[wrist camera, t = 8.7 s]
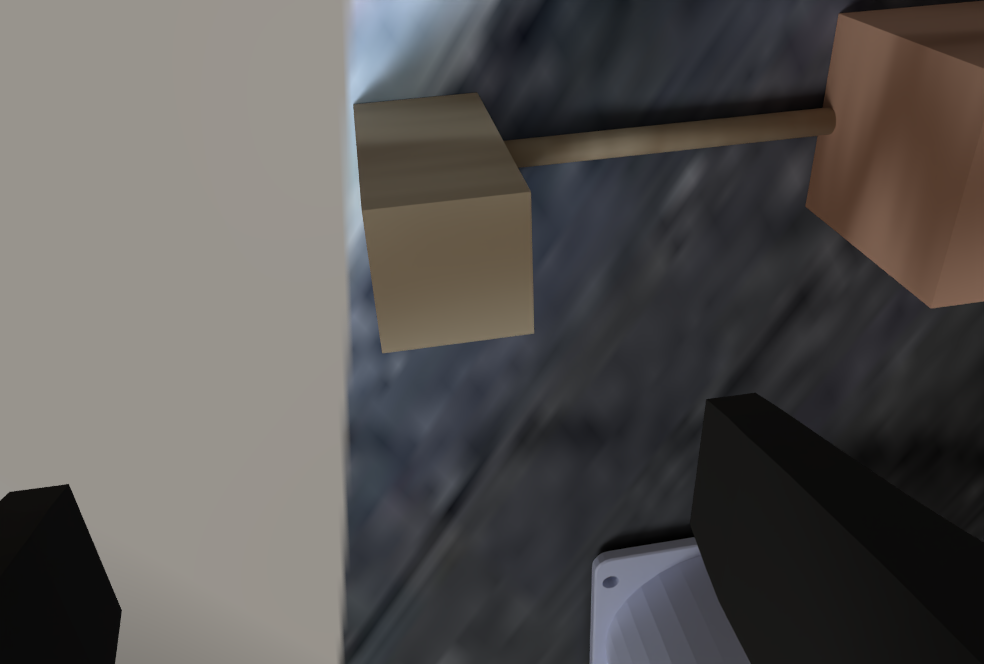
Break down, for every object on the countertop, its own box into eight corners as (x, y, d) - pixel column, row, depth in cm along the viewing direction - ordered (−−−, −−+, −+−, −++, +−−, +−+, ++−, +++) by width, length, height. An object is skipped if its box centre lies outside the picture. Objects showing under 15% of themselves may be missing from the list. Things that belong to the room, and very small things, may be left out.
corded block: (974, 186, 21) (1159, 292, 16) (374, 256, 19) (388, 398, 14) (1028, -4, 18) (1265, 56, 14) (346, 57, 16) (353, 149, 12)
